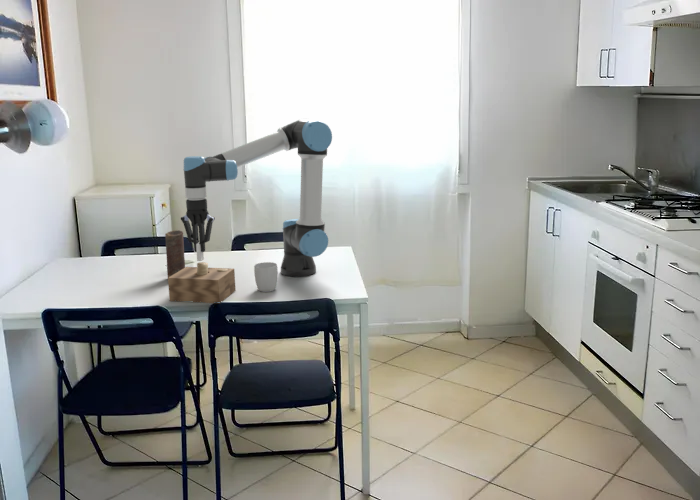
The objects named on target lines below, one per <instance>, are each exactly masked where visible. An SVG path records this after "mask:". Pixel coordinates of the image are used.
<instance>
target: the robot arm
mask: <svg viewBox="0 0 700 500" xmlns="http://www.w3.org/2000/svg"><path fill="white" fill-rule="evenodd" d="M332 140H333V134H332V130H331V128H330V126H329V125H328V124H327V123H325V122H323V121H321V120H319V119H309V118H301V119H298V120H296V121H293V122H291V123H289V124H287V125H284V126H282V127H279V128H277V131H275V132H273V133H271V134H267V135H265V136H263V137H260V138H258V139H255V140H252V141H249V142H248V143H245V144H242V145H239V146H237V147H234V148H232V149H229V150H226V151H224V152H221V153H219V154H216V155H214V156H206V157H204V156H201V155H191V156H186V157H184V159H183V176H184V185H185V187H184V189H185V198H186V200H185V205H186V213H185V214H184V215H183V216H181V217H180V220H181V222H182V224H183V226H184V229H185V233H186V237H187V240H188V242H189V243H192V244H193V251H194V252H195V253H196V261H197V262H203V260H204V259H205V258H204V252H206V243H209V242H210V240H211V233H212V228H213V223H214V221H215V217H214V216H211V215H210V214H209V211H208V200H207V182H208V183H209V182H221V181H222V182H223V181H225V182H226V181H227V182H228V181H234V180H236V179H237V177H238V174H239V173H238V170H239V168H240V167H243V166H246V165H248V164H251V163H252V162H256V161H258V160H261V159H263V158H266V157H269V156H271V155H274V154H277V153H278V152H281V151H286V152H288V151H291V150H294V149H295V150H296V149H297V155H298V156H299V157H300V159H301V161H300V163H301V164H300V198H299V204H300V205H299V218H291V219H287V220H284V221H283V223H282V233H283V234H282V235H283V236H282V237H283V238H282V239H283V258H282V262H281V266H280V274H281V275H283V276H287V277H306V276H311V275H313V274H315V273H316V272H317V267H316V266H317V265H316V263H315V260H314V258H316V257H318V256H321V255H322V254H323V253H324V252H325V251H326V250H327V248H328V245H329V238H328V234H327V233H326V231H325V227H326V226H325V225H326V224H325V222H324V220H323V219H322V204H323V203H322V201H323V198H322V197H323V173H324V172H323V170H324V169H323V168H324V159H325V158H326V157H327V156H328V148H329V147H330V146H331V144H332ZM205 221H207V222H206V228H205ZM190 222H191V223H190Z"/></svg>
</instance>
